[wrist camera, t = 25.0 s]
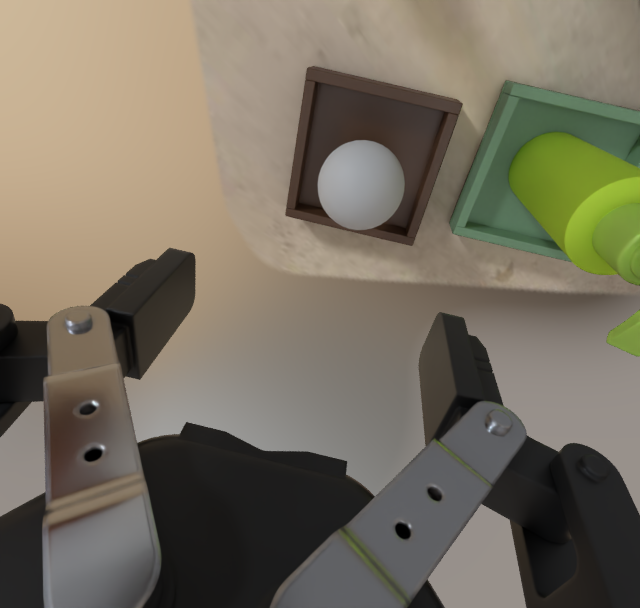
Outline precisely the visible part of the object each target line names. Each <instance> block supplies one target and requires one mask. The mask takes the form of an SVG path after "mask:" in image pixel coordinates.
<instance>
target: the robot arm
mask: <svg viewBox="0 0 640 608" xmlns="http://www.w3.org/2000/svg"><path fill="white" fill-rule="evenodd" d="M194 299H195V255H194V254H193V253H190V252H186V251H182V250H177V249H173V248H169V249H167V250H166V251H165V252H164V253H163V254H162V255H161V256H160V257H159V258H158V259H157V260H153V259H149V260H146V261H144V262H142V263H139V264H137V265H135V266H134V267H133V268H132V269H131V270H129V271H128V272H127V273H126V276H125V275H124V276H123V277H122V278H120V279H119V280H118V283H115V284H114V285H113V286H112V287H111V288H109V289H108V290H107V291H106V292H105V293H104V294H103V295H102V296H100V297H99V298H98V299H97V300H96V301H95V302H94V303H93V304H91V305H90V306H76V307H70V308H67V309H64V310H62V311H60V312H58V313H56V314H54V315H53V316H52V317H51V318H50V319H49V321H15V318H14V315H13V312H12V310H11V309H10V308H9V307H8V306H6V305H3V304H0V437H1V436H2V435H3V434H4V433H5V431H6V430H7V429H8V428H9V427H10V426H11V425H12V424H13V423H14V421H15V420H16V419H17V418H18V417H19V416H20V415H21V413H22V412H23V411H24V410H25V409H26V408H27V407H28V405H29V404H30V403H31V402H32V401H33V402H34V401H44V436H45V437H44V440H45V487H46V492H45V493H43V494H41V495H39V496H37V497H36V498H34V499H32V500H30V501H28V502H26V503H25V504H23V505H21V506H19V507H17V508H15V509H13V510H12V511H10V512H8V513H6V514H4V515H2V516H1V517H0V608H445V607H444V606H443V604H442V603H441V601H440V599H439V597H438V596H437V594H436V592H435V591H434V589H433V588H432V586H431V584H430V583H429V581H428V577H429V576H430V575H431V573H432V572H433V571H434V569H435V568H436V566H437V565H438V563H439V562H440V561H441V559H442V558H443V556H444V555H445V554H446V552H447V551H448V550H449V548H450V546H451V545H452V544H453V543H454V541H455V540H456V538H457V537H458V535H459V534H460V533H461V531H462V530H463V529H464V527H465V526H466V524H467V523H468V521H469V520H470V519H471V517H472V516H473V515H474V513H475V512H476V510H477V509H478V508H479V506H480V505H481V504H483V505H484V506H486V507H488V508H490V509H492V510H493V511H495V512H497V513H499V514H501V515H502V516H504V517H506V518H508V519H510V524H511V529H512V534H513V539H514V545H515V550H516V555H517V560H518V566H519V571H520V576H521V581H522V586H523V592H524V597H525V602H526V607H527V608H640V515H639V513H638V511H637V508H636V506H635V504H634V502H633V500H632V498H631V496H630V494H629V491H628V489H627V487H626V485H625V483H624V481H623V479H622V477H621V475H620V473H619V472H618V470H617V469H616V468H615V466H614V465H613V464H612V463H611V462H610V461H609V460H608V459H607V458H606V457H604V456H603V455H602V454H600V453H599V452H597V451H596V450H594V449H592V448H590V447H588V446H585V445H582V444H577V443H570V444H567V445H565V446H564V447H563V448H562V449H561V450H560V451H559V452H558V451H556V450H554V449H552V448H550V447H548V446H546V445H544V444H542V443H540V442H538V441H536V440H534V439H532V438H530V437H529V436H527V435H526V434H527V433H526V429H525V427H524V425H523V423H522V422H521V420H520V419H519V418H518V417H517V416H516V415H515V414H514V413H513V412H512V411H511V410H509V409H508V408H506V407H504V406H503V403H502V399H501V396H500V393H499V390H498V386H497V383H496V380H495V376H494V373H492V371H493V370H492V367H491V364H490V363H489V361H490V360H489V357H488V354H487V351H486V348H485V347H484V346H483V344H482V343H481V342H480V341H479V339H478V338H477V337H476V336H471V335H468V332H467V328H466V324H465V320H464V318H462V317H458V316H454V315H450V314H445V313H441V312H440V313H438V314H437V316H436V318H435V320H434V322H433V325H432V327H431V329H430V331H429V334H428V336H427V338H426V341H425V343H424V345H423V347H422V350H421V354H420V358H419V376H420V388H421V398H422V410H423V421H424V433H425V444H426V447H425V448H424V449H423V450H422V451H421V452H420V453H419V454H418V455H417V456H416V457H415V458H414V459H413V460H412V461H411V462H410V463H409V464H408V465H407V466H406V467H405V468H404V469H403V470H402V471H401V472H400V473H399V474H398V475H397V476H396V477H395V478H394V479H393V480H392V481H391V482H389V484H388V485H386V486H385V488H383V489H382V490H381V491H380V493H379V494H377V495H376V496H374V495H373V494H372V493H371V492H370V491H369V490H368V489H367V488H365V487H364V486H363V485H362V484H361V483H359V482H358V481H356V480H355V479H353V478H352V477H350V476H348V475H346V467H347V461H344V460H340V459H336V458H332V457H328V456H323V455H319V454H315V453H311V452H296V451H295V452H294V451H292V452H291V451H287V452H286V451H263V450H260V449H258V448H256V447H254V446H252V445H250V444H249V443H246V442H244V441H243V440H241V439H238V438H237V437H235V436H233V435H231V434H229V433H227V432H225V431H221V430H216V429H213V428H208V427H204V426H200V425H196V424H192V423H188V422H186V424H185V426H184V427H183V429H182V431H181V433H180V434H174V435H164V436H159V437H154V438H150V439H147V440H144V441H141V442H139V443H137V440H136V436H135V431H134V426H133V422H132V417H131V412H130V408H129V403H128V398H127V393H126V388H125V384H124V377H125V376H127V377H131V378H135V379H139V380H140V379H141V378H142V376H143V375H144V373H145V372H146V371H147V369H148V368H149V367H150V365H151V364H152V362H153V361H154V360H155V358H156V357H157V356H158V354H159V353H160V352H161V350H162V349H163V347H164V346H165V345H166V343H167V342H168V341H169V339H170V338H171V337H172V335H173V334H174V332H175V331H176V329H177V328H178V327H179V326H180V324H181V323H182V321H183V320H184V319H185V317H186V316H187V315H188V313H189V312H190V310H191V308H192V306H193V303H194Z"/></svg>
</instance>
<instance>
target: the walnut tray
mask: <svg viewBox="0 0 640 608" xmlns="http://www.w3.org/2000/svg"><path fill="white" fill-rule="evenodd" d="M462 105H463V104H462V103H461V102H460V101H458V100H457V99H453V98H448V97H444V96H440V95H435V94H431V93H427V92H422V91H418V90H414V89H410V88H405V87H401V86H397V85H392V84H388V83H384V82H379V81H375V80H371V79H367V78H362V77H358V76H354V75H349V74H345V73H341V72H336V71H332V70H328V69H324V68H319V67H315V66H312V67H308V68H307V73H306V80H305V86H304V93H303V100H302V107H301V113H300V120H299V127H298V134H297V140H296V147H295V154H294V160H293V167H292V174H291V181H290V187H289V194H288V201H287V208H286V214H285V215H286V216H289V217H293V218H297V219H301V220H305V221H310V222H314V223H318V224H322V225H326V226H331V227H335V228H339V229H343V230H347V231H352V232H356V233H360V234H364V235H368V236H373V237H377V238H381V239H385V240H389V241H394V242H398V243H402V244H406V245H410V246H412V245H413V243H414V240H415V237H416V234H417V232H418V229H419V226H420V223H421V220H422V217H423V215H424V212H425V209H426V206H427V203H428V200H429V198H430V195H431V192H432V189H433V186H434V184H435V181H436V178H437V175H438V172H439V169H440V167H441V164H442V161H443V158H444V155H445V152H446V150H447V147H448V144H449V141H450V138H451V136H452V133H453V130H454V127H455V124H456V121H457V119H458V115H459V113H460V110H461V107H462ZM356 140H368V141H374V142H376V143H379V144H381V145H383V146H384V147H386V148H388V149H389V150H390V151H391V152H392V153H393V154H394V155H395V156H396V158H397V159H398V161H399V162H400V165H401V167H402V170H403V174H404V181H405V186H404V194H403V198H402V201H401V203H400V205H399V207H398V209H397V210H396V211H395V213H394V214H393V215H392V216H391V217H390V218H389V219H388V220H387V221H386V222H384V223H382V224H381V225H379V226H376V227H374V228H371V229H366V230H353V229H348V228H346V227H343V226H341V225H339V224H338V223H336V222H335V221H334V220H333V219H331V218H330V217H329V216H328V214H327V213H326V212H325V210H324V209H323V207H322V205H321V202H320V199H319V195H318V177H319V173H320V170H321V168H322V166H323V164H324V162H325V160H326V159H327V157H328V156H329V155H330V154H331V153H332V152H333V151H334V150H335V149H337V148H338V147H339V146H341V145H343V144H345V143H348V142H352V141H356Z"/></svg>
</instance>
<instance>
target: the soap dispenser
mask: <svg viewBox="0 0 640 608" xmlns="http://www.w3.org/2000/svg"><path fill="white" fill-rule="evenodd" d="M509 184H510V187H511V189H512V191H513V193H514V194H515V195H516V196H517V198H518V199H519V200H520V201H521V202H522V204H523V205H524V206H525V207H526V208H527V209H528V211H529V212H530V213H531V214H532V215H533V216H534V218H535V219H536V220H537V221H538V222H539V224H540V225H541V226H542V227H543V228H544V229H545V231H546V232H547V233H548V234H549V235H550V237H551V238H552V239H553V240H554V241H555V242H556V244H557V245H558V246H559V247H560V248H561V250H562V251H563V252H564V253H565V254H566V255H567V257H568V258H569V259H570V260H571V261H572V262H573V263H574V264H575V265H576V266H577V267H579V268H580V269H582V270H584V271H586V272H589V273H593V274H599V275H615V274H619V275H620V276H621V277H622V278H623V279H624V280H626V281H627V282H629V283H632V284H635V285H640V168H638V167H636V166H634V165H632V164H630V163H628V162H626V161H624V160H622V159H620V158H618V157H615V156H613V155H611V154H609V153H607V152H605V151H603V150H601V149H599V148H597V147H595V146H593V145H591V144H589V143H587V142H585V141H583V140H581V139H579V138H577V137H575V136H573V135H571V134H568V133H564V132H549V133H545V134H542V135H539V136H537V137H535V138H533V139H532V140H530V141H529V142H527V143H526V144H525V145H524V146H523V147H522V148H521V149H520V150H519V151H518V152H517V154H516V155H515V157H514V158H513V160H512V163H511V165H510V169H509ZM607 343H608V344H610V345H613V346H615V347H617V348H619V349H621V350H623V351H626V352H628V353H630V354H632V355H635V356H640V310H638V311H637V312H636V313H635V314H634V315H633V316H631V317H630V318H629V319H627V320H626V321H624V322H623V323H622V324H620V325H619V326H617V327H616V328H614V329H613V330H611V331H610V332H609V334H608V336H607Z"/></svg>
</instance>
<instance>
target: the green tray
mask: <svg viewBox="0 0 640 608" xmlns="http://www.w3.org/2000/svg"><path fill="white" fill-rule="evenodd" d="M549 132H564V133H568V134H571V135H573V136H575V137H577V138H579V139H581V140H583V141H585V142H587V143H589V144H591V145H593V146H595V147H597V148H599V149H601V150H603V151H605V152H607V153H609V154H611V155H613V156H615V157H618V158H620V159H622V160H624V161H626V162H628V163H630V164H632V165H634V166H636V167H638V168H640V111H637V110H632V109H628V108H624V107H619V106H615V105H611V104H606V103H602V102H598V101H593V100H589V99H585V98H580V97H576V96H572V95H567V94H563V93H559V92H554V91H550V90H546V89H541V88H537V87H533V86H528V85H524V84H520V83H516V82H511V81H505V84H504V86H503V89H502V91H501V94H500V96H499V99H498V101H497V104H496V106H495V109H494V111H493V114H492V116H491V119H490V122H489V124H488V127H487V129H486V132H485V134H484V137H483V139H482V142H481V144H480V147H479V149H478V152H477V154H476V157H475V159H474V162H473V164H472V167H471V169H470V172H469V174H468V177H467V179H466V182H465V184H464V187H463V189H462V192H461V194H460V197H459V200H458V202H457V205H456V207H455V210H454V212H453V215H452V217H451V220H450V222H449V224H450V227H451V230H452V233H453V234H456V235H460V236H464V237H468V238H472V239H477V240H481V241H485V242H489V243H493V244H498V245H502V246H506V247H510V248H515V249H519V250H523V251H527V252H531V253H536V254H540V255H544V256H548V257H552V258H557V259H561V260H565V261H569V262H572V261H571V260H570V259H569V258H568V257H567V255H566V254H565V253H564V252H563V251H562V250H561V248H560V247H559V246H558V245H557V244H556V242H555V241H554V240H553V239H552V238H551V237H550V235H549V234H548V233H547V232H546V231H545V229H544V228H543V227H542V226H541V225H540V224H539V222H538V221H537V220H536V219H535V218H534V216H533V215H532V214H531V213H530V212H529V211H528V209H527V208H526V207H525V206H524V205H523V204H522V202H521V201H520V200H519V199H518V198H517V196H516V195H515V194H514V193H513V191H512V189H511V187H510V184H509V169H510V165H511V163H512V160H513V158H514V157H515V155H516V154H517V152H518V151H519V150H520V149H521V148H522V147H523V146H524V145H525V144H526V143H527V142H529V141H530V140H532V139H533V138H535V137H537V136H539V135H542V134H545V133H549Z"/></svg>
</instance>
